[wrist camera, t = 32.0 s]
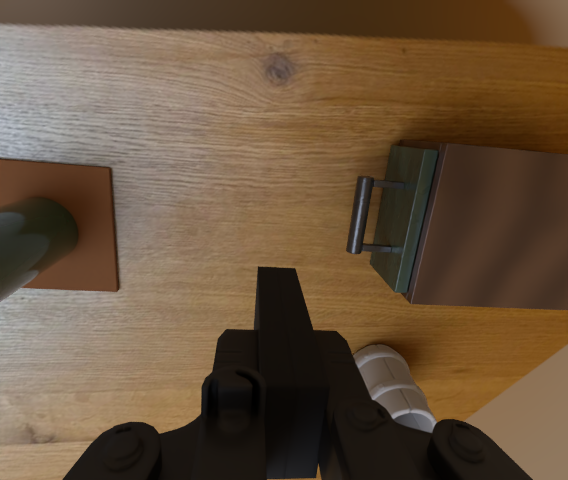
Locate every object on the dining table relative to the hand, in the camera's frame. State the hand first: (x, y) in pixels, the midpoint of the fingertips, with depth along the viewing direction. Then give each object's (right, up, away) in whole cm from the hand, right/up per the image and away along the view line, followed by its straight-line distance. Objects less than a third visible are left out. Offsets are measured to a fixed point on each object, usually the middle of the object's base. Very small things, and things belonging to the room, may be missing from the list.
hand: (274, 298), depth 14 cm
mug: (+10, -14, +29) cm, 33 cm away
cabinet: (+19, +6, +23) cm, 31 cm away
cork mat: (-23, +4, +20) cm, 31 cm away
